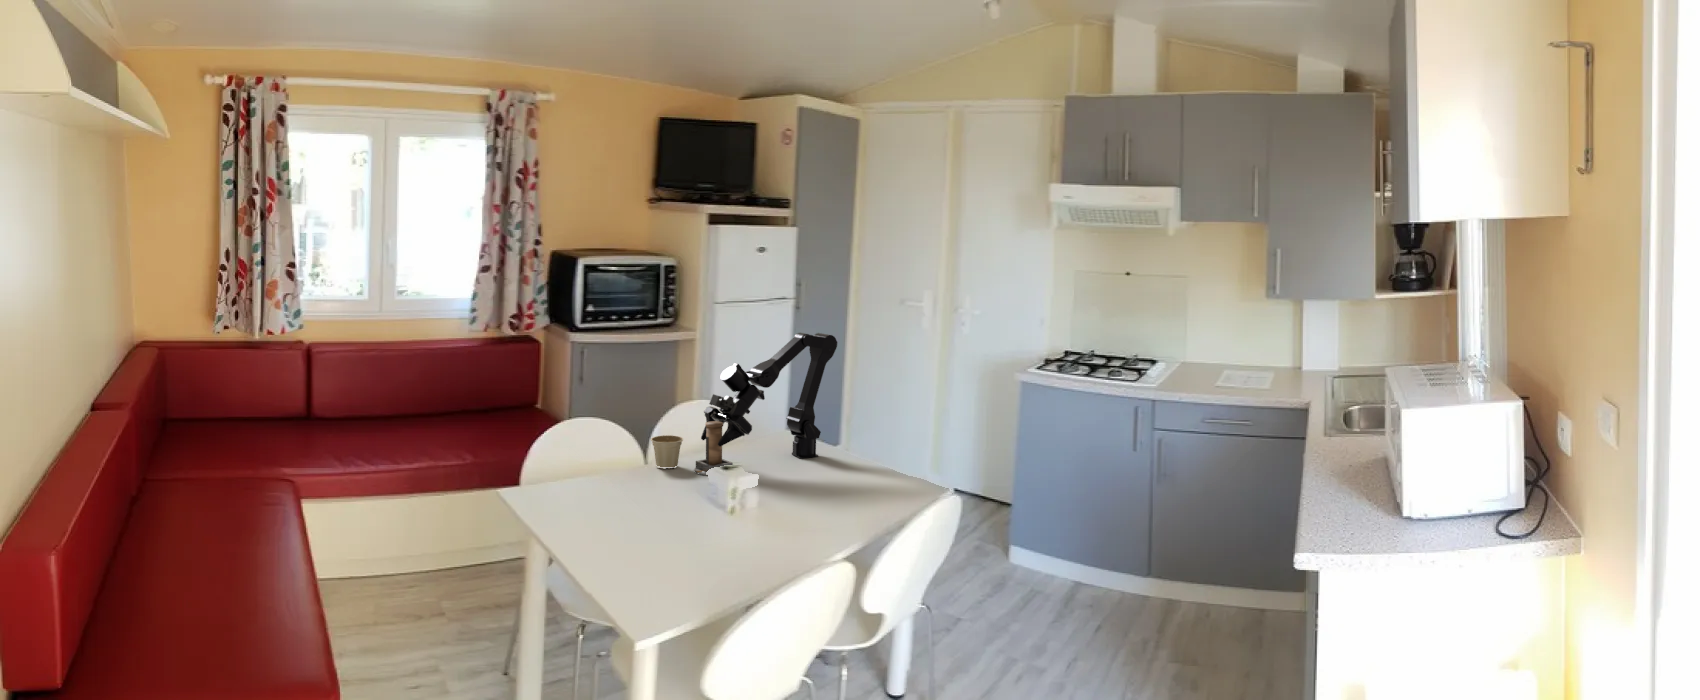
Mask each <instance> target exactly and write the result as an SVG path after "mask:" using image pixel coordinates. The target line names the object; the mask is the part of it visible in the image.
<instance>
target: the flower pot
mask: <svg viewBox="0 0 1700 700" xmlns="http://www.w3.org/2000/svg"><path fill="white" fill-rule="evenodd" d="M650 441H651V442H652V446H653V450H654V451H653V452H654V457H655V465H657V466H660V467H675V466H677V465H678V464H679V460H680V459H679V456H680V451H681V446H682V442H683V441H684V438H683V437H681V436H679V435H673V434H671V435H670V434H667V435H665V434H664V435H657V436H653V437H652V438H650ZM657 466H656V467H657ZM677 467H678V466H677Z"/></svg>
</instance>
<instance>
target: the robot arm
mask: <svg viewBox="0 0 1700 700" xmlns="http://www.w3.org/2000/svg"><path fill="white" fill-rule="evenodd" d="M807 347H809V356H810V362H809V365H808V369H807V372H806V376H805V379H804V382H803V386H802V388H801V392H800V393H801V394H800V396H799V399H798V402H797V404H796V405H795V406H790V407H789V409H788V414H787V416H786V426H787V428H788V429H789V430H790V433H791V434H790V435H792V436H793V441H792V452H791V455H792V456H794V457H797V458H799V459H805V458H806V459H809V458H817V457H819V454H818V453H817V439H820V436H821V433H822V432H821V430H820V429H819V428H818V427H817V426H816V425H815V420H816V415H815V404H816V400H817V396H818V393H819V389H820V386H821V383H822V378H823V376H824V372H825V369H826V365H827V363H828V362H829V361H830V360H831V359H832V358H833V357H834V354H835V352H836V350H837V348H838V341H837V339H836V337H835V336H834V335H833V334H828V333H827V334H826V333H822V332H821V333H820V332H816V333H815V334H813V335H812V334H809V333H806V332H805V333H804V332H797V333H796V334H795V335H794V336H793V338H791V339H790V341H788V342H787V343H786V344H785V345H784V346H783V347H781V349H779V350H778V351H777V352H776V353H774V355H773V356H772V357H771V358H769V359H767V360H765V361H761V362H759V363H758V364H756V365H755V366H753V367H752V368H751V369H750V370H748V371H745V370H744V369H743V368H742V365H740V363H736V362H734V363H733V364H732V365H730V366H728V367H726V368H725V369H723V370H722V372H721V373H720V376H719V378H720V380H721V381H722V383H724V384H725V385H726V387H728V389H729V390H731V392H733V393H736V392H737V393H736V394H734V396H733V397H732V396H730V395H725V396H721V395H717V394H714V393H712V396H711V398H710V401H709V403H708V404H709V405H711V406H707V407H706V408H705V409H704V410H703V414H704V417H705V419H706V420H705V421H706V422H710V421H719V422H723V425H724V424H725V423H727V428H726V430H725V432H724V433H722V438H721V439H720V441H719V442H718V445H719V446H722V447H723V446H724V445H726V444H728V443H731V442H732V441H735V440H737V439H738V438H741V437H745V436H746V435H747V436H748V435H750V433H752V431H753V425H752V424H751V423H750V421H748V420H747V419H746V418H745V417H744V416H745V414H747V415H749V414H750V413H751V410H750V409H751V406H753V404H754V403H755V401H756V400H757V399H759V400H762V401H764V400H765V391H764V390H762V389H759V388H758V387H760V388H764V389H766V388H768V389H769V388H771V386H773V385H774V383H775V382H776V381H777V379H778V378H779V375H780V372H781V371H782V370H783V369H784V368H785V367H786V366H788V365H789V364H790V362H792V360H794V359H795V358H796V357H797V356H799V354H800V353H801V352H802V351H803V350H805V349H806V348H807ZM706 422H705V423H706ZM700 439H701V440H702V441H706V426H704V428H703V431H702V434H701V437H700Z"/></svg>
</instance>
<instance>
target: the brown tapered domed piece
mask: <svg viewBox="0 0 1700 700" xmlns="http://www.w3.org/2000/svg"><path fill="white" fill-rule="evenodd" d="M704 425H705V426H706V439H705V459H706V464H708V465H717V464H722V459H723V446H719V445H718V442H719V441H720V439H721V438H722V436H723V427H724V424H723V422H719V421H710V422H705V424H704ZM705 426H704V427H705Z"/></svg>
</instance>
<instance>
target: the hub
mask: <svg viewBox="0 0 1700 700" xmlns="http://www.w3.org/2000/svg"><path fill="white" fill-rule="evenodd" d="M724 465H733V462H732V461H729V460H726V459H723V458H722V464H717V465H708V464H706V458H705V459H699V460H698V459H697V460H695V467H694V469H693V471H695V472H696V473H699V474H702V475H701V476H704V475H706V472H707V471H708V470H709V469H711V468H714V467H720V466H724ZM733 466H734V465H733ZM695 472H694V473H695ZM696 473H695V474H696ZM699 474H698V475H699Z"/></svg>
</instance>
